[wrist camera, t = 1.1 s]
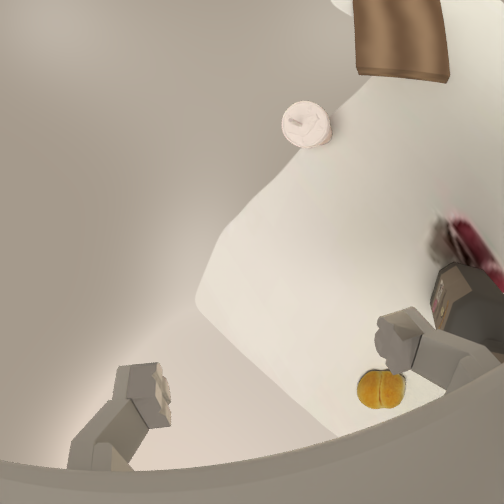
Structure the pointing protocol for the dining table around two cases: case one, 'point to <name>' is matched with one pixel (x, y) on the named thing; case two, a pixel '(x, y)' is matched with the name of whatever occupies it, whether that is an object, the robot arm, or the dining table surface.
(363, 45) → the plinth
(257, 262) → the dining table surface
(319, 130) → the smoothie
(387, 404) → the bread roll
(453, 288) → the liquor
